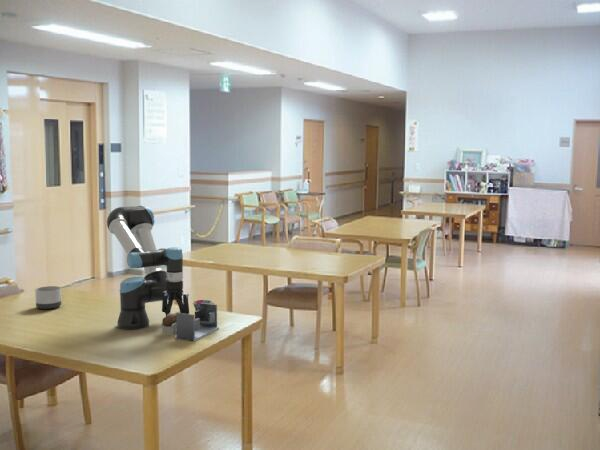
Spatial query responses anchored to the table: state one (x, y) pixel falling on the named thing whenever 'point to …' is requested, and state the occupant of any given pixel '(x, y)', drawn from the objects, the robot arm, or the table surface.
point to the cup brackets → (196, 321)
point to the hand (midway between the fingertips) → (175, 327)
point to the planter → (48, 297)
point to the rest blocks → (169, 329)
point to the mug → (197, 303)
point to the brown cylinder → (170, 319)
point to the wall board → (202, 332)
